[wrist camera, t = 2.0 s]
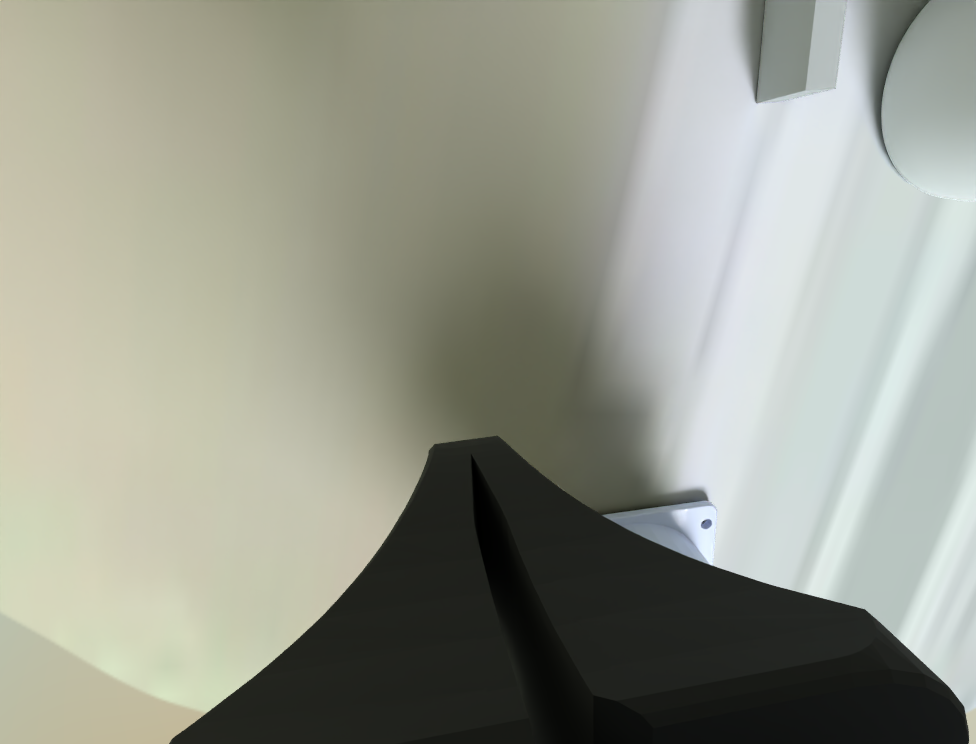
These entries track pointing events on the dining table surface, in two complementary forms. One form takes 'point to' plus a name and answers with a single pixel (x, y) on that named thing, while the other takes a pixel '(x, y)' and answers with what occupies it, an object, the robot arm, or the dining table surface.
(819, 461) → the dining table surface
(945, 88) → the pill bottle
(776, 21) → the grey shallow rimmed tray
